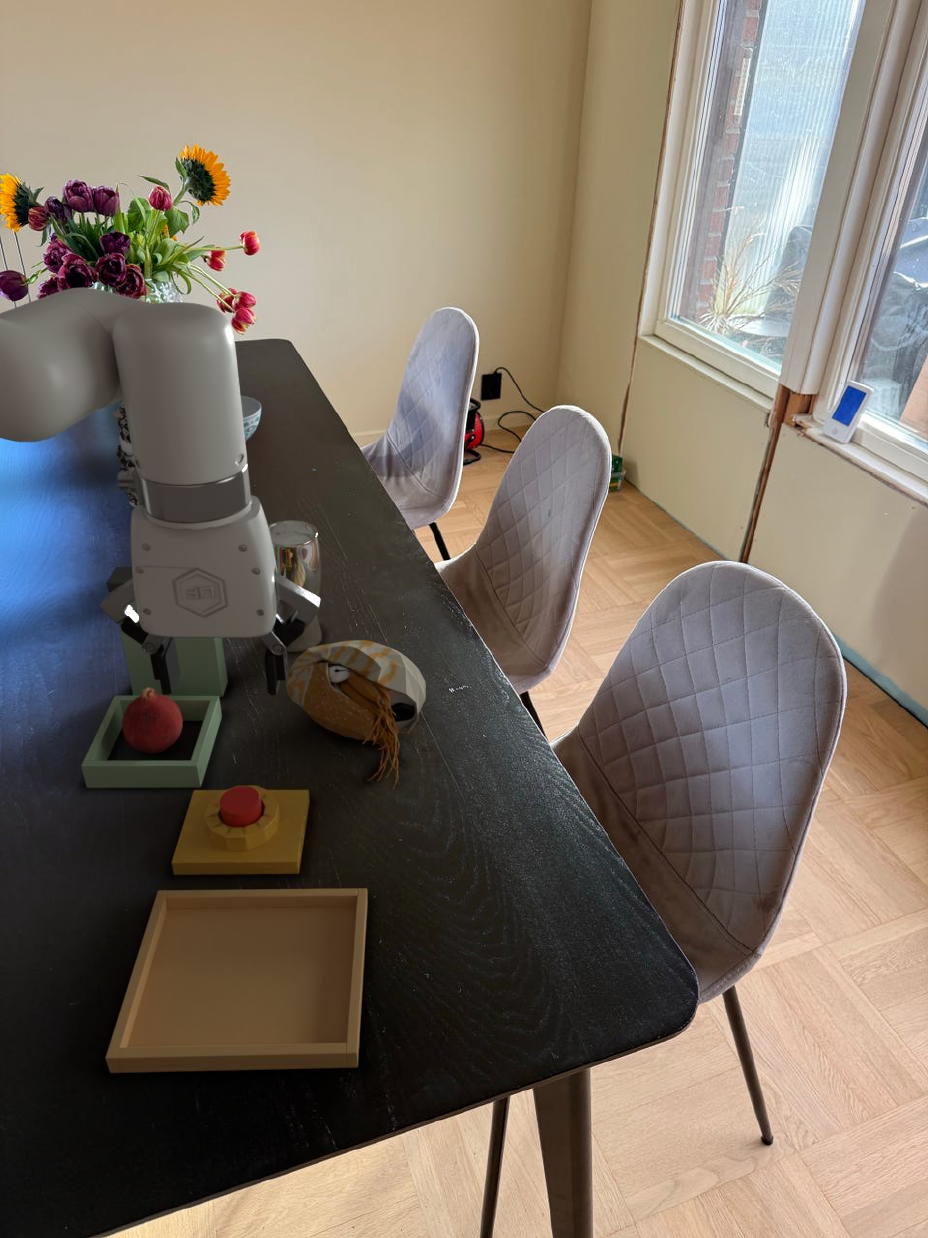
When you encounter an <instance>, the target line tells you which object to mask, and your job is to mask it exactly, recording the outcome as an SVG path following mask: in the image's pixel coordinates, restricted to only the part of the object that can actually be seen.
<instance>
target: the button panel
mask: <svg viewBox="0 0 928 1238" xmlns="http://www.w3.org/2000/svg"><path fill="white" fill-rule="evenodd" d="M238 786H239V785H236V786H233V787H231V788H234V787H238ZM248 786H249V787H252V788H254V789H256V790H257V791H258V792H259V794H260V798H261V807H262V814H261V816H260V818H259V819H258V820H257V821H256V822H255V823H253V824H251V825H249V826H246V827H236V828H235V827H231V826H228V825H227V824H225V823H224V821H223V820H222V816H221V809H220V799H221V797H222V795H223V794H224V793H225V792H226V791H228V790H229V789H231V788H227V789H194V790H193V792H192V795H191V799H190V801H189V805H188V808H187V811H186V815H185V818H184V821H183V825H182V828H181V831H180V834H179V837H178V841H177V845H176V847H175V849H174V853H173V857H172V860H171V866H172V872H173V875H174V876H181V875H183V876H185V875H186V876H188V875H189V876H191V875H195V876H196V875H293V874H294V875H295V874H297V875H298V874H299V873H300V868H301V861H302V855H303V854H302V853H303V847H304V842H305V835H306V828H307V820H308V814H309V812H308V811H309V808H310V807H309V806H310V793H309V789H266V788H264V787H261V786H259V785H248Z"/></svg>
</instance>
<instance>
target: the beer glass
mask: <svg viewBox="0 0 928 1238" xmlns="http://www.w3.org/2000/svg"><path fill="white" fill-rule="evenodd" d="M267 525H268V528H269V532H270V536H271V541H272V545H273V550H274V555H275V560H276V566H277V572H278V574H280V575H281V576H283V577H285V578H287V579H288V580H290V581H292V582H293V583H295V584H297V585H299V586H300V587H302V588H304V589H305V590H307V591H309V592H310V593H312V594H314V595H316V596H317V597H319V598H320V589H321V582H322V581H321V580H322V557H321V556H322V555H321V548H320V542H319V535H318V534H319V533H318V532H319V531H318V529H317V527H316V526H314V525H313V524H311V523H309V522H307V521H301V520H281V521H277V522H273V523H270V524H267ZM296 611H297V609H296V608H294V607H293V606H291V605H289V604H287V603H286V602H284V601H282V600H280V601H279V604H278V605H277V608H276V613H277V614H278V615H279V616H280V618H281V619H282V620H283V621H286V620H287V619H288V618H289V617H290V616H291V615H292V614H294V613H295V612H296ZM322 638H323V635H322V629H321V627H320V623H319V617H318V614H317V615H316V616H315V618H314V619H313V620H312V621H311V623H310V624H309V625H308V626H307V627H306V628H305V630H304V632H303V634H302V635H301V636H299V637H298V638H297V639H296V640H295V641H294V642H292V643H291V644H290V645H289V646H288V647H287V648H286V650H287V652H291V653H292V652H294V653H298V652H305V651H306V650H307V649H308V648H311V647H316V646H319V644H320V642H321V641H322Z"/></svg>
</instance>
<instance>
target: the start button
mask: <svg viewBox="0 0 928 1238" xmlns="http://www.w3.org/2000/svg"><path fill="white" fill-rule="evenodd" d="M237 786H238V787H236V786H233V787H234V788H233V787H231V789H230V788H228V789H229V790H228V789H227V790H228V791H226V792H225V793H224V794H223V795H222V797H221V799H220V809H221V816H222V820H223V821H224V823H225V824H227V825H228V826H231V827H235V828H236V827H246V826H249V825H251V824H253V823H255V822H256V821H257V820H258V819H259V818H260V816H261V814H262V807H261V798H260V794H259V792H258V791H257V790H256V789H254V788H252V787H249V786H250V785H237Z"/></svg>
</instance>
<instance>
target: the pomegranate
mask: <svg viewBox="0 0 928 1238" xmlns="http://www.w3.org/2000/svg"><path fill="white" fill-rule="evenodd" d="M183 722H184V721H183V719H182V716H181V713H180V710H179V707H178V706H177V704H176V703H175V702H174V701H173V700H171V699H169V698H168V697H166V696H164V695H161V694H157V693H154V689H152V688H149V687H147V688H146V689H143V690H142V693H141V696H139V697H137V698H136V699H135V700H134V701H132V702H131V703H130V704H129V706H128V707H127V709H126V711H125V713H124V716H123V720H122V724H123V726H122V733H123V736H124V738H125V740H126V741H127V742H128V744H129V745H130V746H131V747H132V748H134V749H135V750H137V751H139V752H141V753H145V754H159V753H162V752H164V751H166V750H168V749H169V748H171V746H173V745H174V744H175V742H176V741H177V740H178V739H179V737H180V735H181V733H182V729H183Z"/></svg>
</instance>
